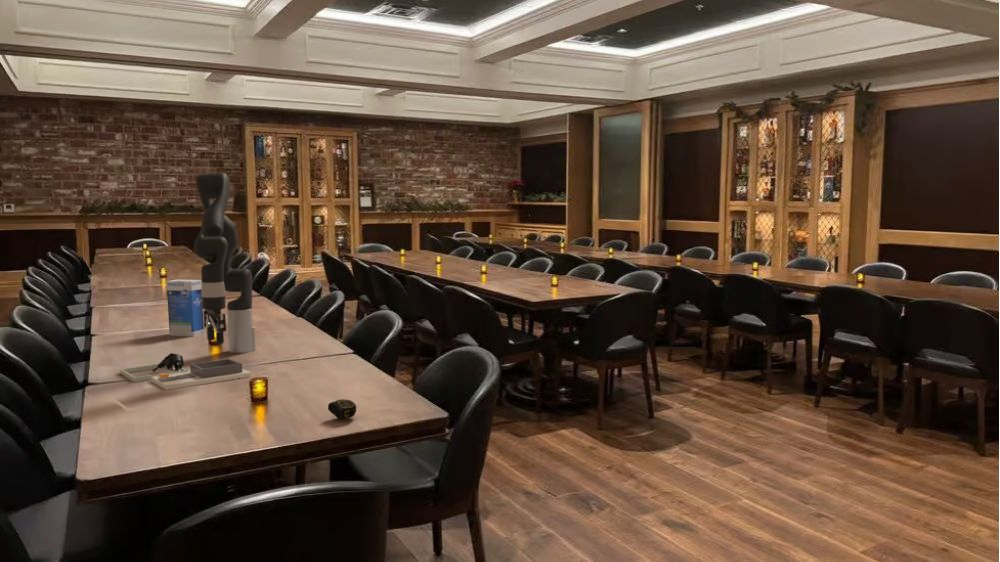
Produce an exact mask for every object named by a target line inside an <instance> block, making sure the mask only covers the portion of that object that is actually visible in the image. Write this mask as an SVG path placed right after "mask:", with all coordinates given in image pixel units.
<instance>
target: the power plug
mask: <svg viewBox="0 0 1000 562" xmlns="http://www.w3.org/2000/svg"><path fill="white" fill-rule="evenodd" d="M183 357H184V356H183V355H180V354H178V353H172V352H171V353H169V354H168V355H167V356H165V357H164V359H162V360H161V361H160V362H159V363H157V364H158V367H157V368H155V369H152V372H156V371H157V370H159V369H163V367H164V368H167V370H170V371H171V372H175V371H180V369H181V368H182V367H183V368H184V366H185V361H184V358H183ZM166 365H167V367H165V366H166Z"/></svg>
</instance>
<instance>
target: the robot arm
mask: <svg viewBox="0 0 1000 562" xmlns="http://www.w3.org/2000/svg"><path fill="white" fill-rule="evenodd" d="M195 183H196V188H197V192H198V195H199V198H200V202H201V204H202V207H203V209H204V212H203V215H202V219H201V227H200V228H201V229H200V231H199V234H198V235H197V237H196V239H195V241H194V245H193V251H194V253H195V254H196V256H197V257H200V258H216V260H215V261H214V262H212V263H208V264H203V265H202V266H201V269H200V273H201V285H202V287H201V293H202V309H203V323H204V328H205V330H206V337H207V340H208V341H214V340H215V338H216V340H215V341H216V344H217V345H221V344H224V342H225V339H224V336H225V335H224V333H225V332H227V330H228V332H227V333H228V335H227V336H228V352H229V353H230V354H231V353H232V354H243V353H244V354H245V353H246V354H247V353H251V352H253V351H254V350H255V351H256V333H255V332H256V330H255V326H253V310H252V309H253V305H252V304H253V275H252V274H253V273H252V272H251V270H250V269H248V268H232V266H231V260H232V257H233V255H234V252H235V251H236V249H237V246H238V244H239V238H238V232H237V229H236V228H237V227H236V225H235V224H234V222H233V221H232V220H231V219H230V218H229V217H228V216H227V215H225V214H226V210H227V206H228V203H229V199H230V194H231V182H230V179H229V176H228V174H227V173H226V172H212V173H211V172H209V173H202V174H198V175H197V176H196V180H195ZM213 199H214V201H213ZM226 292H227V293H228V292H229V293H240V296H239V297H238V298H235V299H233V300H230V301H228V302H227V305H226ZM226 307H227V308H226ZM225 308H226V309H227V319H226V313H222V310H223V309H225Z"/></svg>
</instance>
